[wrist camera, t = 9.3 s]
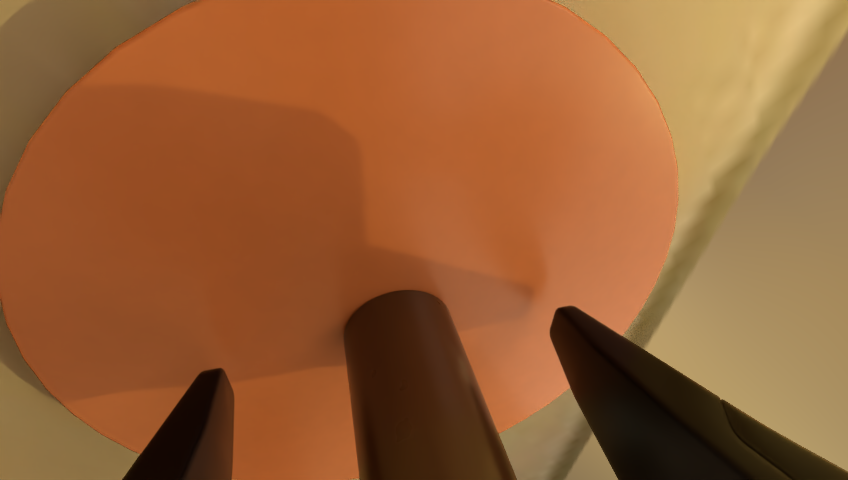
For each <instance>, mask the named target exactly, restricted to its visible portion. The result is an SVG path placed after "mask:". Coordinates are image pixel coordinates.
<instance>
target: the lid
mask: <svg viewBox="0 0 848 480" xmlns="http://www.w3.org/2000/svg"><path fill="white" fill-rule="evenodd" d="M677 206H678V168H677V162H676V157H675V152H674V147H673V142H672V137H671V134H670V131H669V129H668V126H667V124H666V121H665V119H664V116H663V113H662V111H661V108H660V106H659V103H658V101H657V100H656V98H655V96H654V95H653V93H652V92H651V90H650V89H649V87H648V85H647V84H646V82H645V81H644V79H643V78H642V76H641V74H640V73H639V71H638V70H637V68H636V67H635V66H634V65H633V64H632V63H631V62H630V61H629V60H628V59H627V57H626V56H625V55H624V54H623V53H622V52H621V51H620V50H619V49H618V48H617V47H616V46H615V45H614V44H613V43H612V42H611V41H610V40H609V39H608V38H607V37H606V36H605V35H604V34H603V33H601V32H600V31H598V30H597V29H596V28H594V27H593V26H591V25H590V24H589V23H587V22H586V21H584V20H583V19H582V18H580V17H579V16H577V15H576V14H574V13H573V12H572V11H570V10H569V9H567V8H566V7H564V6H562V5H560V4H558V3H555V2H553V1H551V0H197V1H194V2H192V3H189V4H187V5H184V6H182V7H181V8H179V9H177V10H176V11H174V12H173V13H171V14H169V15H168V16H166V17H164V18H163V19H161V20H159V21H158V22H156V23H155V24H153V25H151V26H150V27H148V28H146V29H145V30H143V31H142V32H140V33H138V34H137V35H135V36H133V37H132V38H130V39H128V40H127V41H125V42H124V43H122V44H120V45H119V46H117V47H116V48H114V49H113V50H112V51H111V52H110V53H109V54H108V55H107V56H105V57H104V58H103V59H102V60H101V61H100V62H99V63H98V64H96V65H95V66H94V67H93V68H92V69H91V70H90V71H89V72H88V73H86V74H85V75H84V76H83V77H82V78H81V79H80V80H79V81H77V82H76V83H75V84H74V85H73V86H72V87H71V88H70V89H68V90H67V91H66V92H65V94H64V95H63V96H62V98H61V99H60V100H59V102H58V103H57V104H56V106H55V107H54V108H53V110H52V111H51V112H50V113H49V115H48V116H47V117H46V119H45V120H44V121H43V123H42V124H41V125H40V127H39V128H38V129H37V131H36V132H35V133H34V135H33V136H32V137H31V139H30V140H29V142H28V144H27V146H26V148H25V150H24V153H23V155H22V157H21V159H20V161H19V163H18V165H17V168H16V170H15V172H14V174H13V176H12V178H11V180H10V183H9V185H8V187H7V189H6V193H5V197H4V202H3V207H2V211H1V216H0V300H1V304H2V308H3V312H4V316H5V320H6V324H7V326H8V328H9V330H10V332H11V334H12V336H13V338H14V340H15V342H16V344H17V346H18V348H19V350H20V352H21V354H22V356H23V358H24V360H25V361H26V363H27V364H28V365H29V367H30V368H31V369H32V371H33V372H34V373H35V375H36V376H37V377H38V379H39V380H40V381H41V383H42V384H43V385H44V387H45V388H46V389H47V390H48V391H49V392H50V393H51V394H52V395H53V396H54V397H55V398H56V399H57V400H58V401H59V402H60V403H62V404H63V405H64V406H65V407H66V408H67V409H68V410H69V411H70V412H71V413H72V414H73V415H75V416H76V417H78V418H79V419H80V420H82V421H83V422H85V423H86V424H87V425H89V426H90V427H92V428H93V429H95V430H96V431H97V432H99V433H100V434H102V435H103V436H105V437H107V438H109V439H111V440H113V441H115V442H117V443H119V444H120V445H122V446H124V447H126V448H128V449H130V450H132V451H134V452H137V453H139V454H141V453H142V452H143V450H144V449H145V447H146V446H147V445H148V443H149V442H150V440H151V439H152V438H153V436H154V435H155V434H156V432H157V431H158V429H159V428H160V427H161V425H162V424H163V423H164V421H165V420H166V418H167V417H168V416H169V414H170V413H171V412H172V410H173V409H174V407H175V406H176V405H177V403H178V402H179V400H180V399H181V398H182V396H183V395H184V394H185V392H186V391H187V389H188V388H189V387H190V385H191V384H192V383H193V381H194V380H195V378H196V377H197V376H198V374H199V373H201V372H202V371H205V370H210V369H215V368H222V369H224V371H225V373H226V375H227V377H228V379H229V382H230V384H231V386H232V389H233V392H234V399H235V403H234V439H233V469H232V479H235V480H349V479H355V478H359V479H360V480H517V478H516V476H515V474H514V471H513V469H512V466H511V464H510V461H509V459H508V456H507V454H506V451H505V449H504V446H503V444H502V441H501V439H500V436H499V433H501V432H503V431H505V430H506V429H508V428H510V427H512V426H514V425H515V424H517V423H519V422H521V421H522V420H524V419H526V418H527V417H529V416H531V415H532V414H534V413H535V412H537V411H538V410H540V409H541V408H543V407H545V406H546V405H548V404H549V403H550V402H552V401H553V400H554V399H556V398H557V397H558V396H560V395H561V394H562V393H564V392H565V391H566V390H568V389H569V388H570V385H569V383H568V381H567V378H566V376H565V373H564V371H563V368H562V366H561V363H560V361H559V358H558V356H557V353H556V351H555V348H554V346H553V343H552V341H551V338H550V326H551V323H552V320H553V317H554V313H555V311H556V309H557V308H559V307H564V306H570V305H572V306H575V307H577V308H579V309H580V310H582V311H583V312H585V313H587V314H588V315H590V316H591V317H593V318H595V319H596V320H598V321H599V322H601V323H602V324H604V325H606V326H607V327H609V328H610V329H612V330H614V331H615V332H617V333H618V334H620V335H621V336H622V335H623V334H624V333H625V332H626V330H627V329H628V327H629V326H630V325H631V323H632V322H633V320H634V319H635V317H636V316H637V315H638V313H639V312H640V310H641V309H642V307H643V305H644V304H645V302H646V300H647V298H648V296H649V295H650V293H651V291H652V289H653V287H654V286H655V284H656V281H657V279H658V277H659V274H660V272H661V270H662V267H663V265H664V262H665V260H666V258H667V254H668V250H669V247H670V243H671V240H672V236H673V233H674V228H675V221H676V213H677Z"/></svg>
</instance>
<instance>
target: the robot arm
mask: <svg viewBox="0 0 848 480" xmlns="http://www.w3.org/2000/svg"><path fill="white" fill-rule="evenodd" d="M550 338H551V341H552V343H553V346H554V348H555V351H556V353H557V356H558V358H559V361H560V363H561V366H562V368H563V371H564V373H565V376H566V378H567V381H568V383H569V385H570V388H571V390H572V392H573V395H574V397H575V399H576V401H577V403H578V405H579V406H580V408H581V410H582V412H583V414H584V416H585V418H586V420H587V421H588V423H589V425H590V427H591V429H592V431H593V433H594V435H595V436H596V438H597V440H598V442H599V444H600V446H601V448H602V450H603V452H604V453H605V455H606V457H607V459H608V461H609V463H610V465H611V467H612V469H613V470H614V472H615V474H616V476H617V478H618V480H848V472H847V471H846V470H844V469H842V468H840V467H838V466H837V465H835V464H833V463H831V462H829V461H828V460H826V459H824V458H822V457H820V456H818V455H816V454H815V453H813V452H811V451H809V450H808V449H806V448H804V447H802V446H800V445H798V444H797V443H795V442H793V441H791V440H789V439H788V438H786V437H784V436H782V435H781V434H779V433H777V432H776V431H774V430H772V429H770V428H768V427H767V426H765V425H764V424H762V423H760V422H759V421H757V420H755V419H754V418H752V417H751V416H749V415H747V414H746V413H744V412H742V411H741V410H739V409H737V408H736V407H734V406H733V405H731V404H730V403H728V402H726V401H725V400H720V398H719V397H718V396H717V395H715V394H713V393H712V392H710V391H709V390H707V389H706V388H704V387H702V386H701V385H699V384H698V383H696V382H694V381H693V380H691V379H690V378H688V377H687V376H685V375H683V374H682V373H680V372H679V371H677V370H675V369H674V368H672V367H671V366H669V365H667V364H666V363H664V362H663V361H661V360H660V359H658V358H656V357H655V356H653V355H652V354H650V353H648V352H647V351H645V350H644V349H642V348H641V347H639V346H637V345H636V344H634V343H633V342H631V341H629V340H628V339H626V338H625V337H623V336H621V335H620V334H618V333H617V332H615V331H614V330H612V329H610V328H609V327H607V326H606V325H604V324H602V323H601V322H599V321H598V320H596V319H595V318H593V317H591V316H590V315H588V314H587V313H585V312H583V311H582V310H580V309H579V308H577V307H575V306H572V305H570V306H564V307H559V308H557V309H556V311H555V313H554V317H553V320H552V323H551V326H550ZM234 403H235V399H234V392H233V389H232V386H231V384H230V382H229V379H228V377H227V375H226V373H225V371H224V369H222V368H215V369H210V370H205V371H202V372H201V373H199V374H198V376H197V377H196V378H195V380H194V381H193V383H192V384H191V385H190V387H189V388H188V389H187V391H186V392H185V394H184V395H183V396H182V398H181V399H180V400H179V402H178V403H177V405H176V406H175V407H174V409H173V410H172V412H171V413H170V414H169V416H168V417H167V418H166V420H165V421H164V423H163V424H162V425H161V427H160V428H159V429H158V431H157V432H156V434H155V435H154V436H153V438H152V439H151V440H150V442H149V443H148V445H147V446H146V447H145V449H144V450H143V452H142V453H141V454H140V456H139V457H138V458H137V460H136V461H135V463H134V464H133V465H132V467H131V468H130V469H129V471H128V472H127V474H126V475H125V476H124V478H123V479H122V480H232V469H233V439H234Z"/></svg>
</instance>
